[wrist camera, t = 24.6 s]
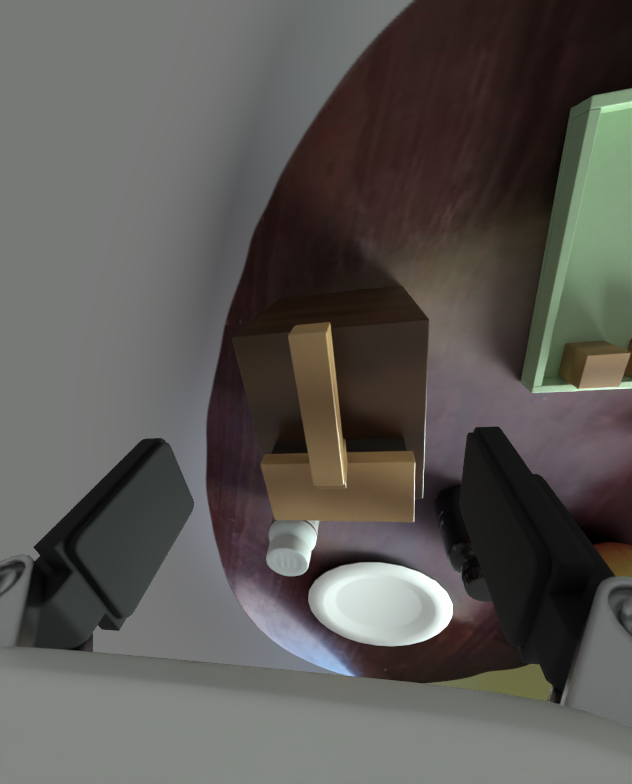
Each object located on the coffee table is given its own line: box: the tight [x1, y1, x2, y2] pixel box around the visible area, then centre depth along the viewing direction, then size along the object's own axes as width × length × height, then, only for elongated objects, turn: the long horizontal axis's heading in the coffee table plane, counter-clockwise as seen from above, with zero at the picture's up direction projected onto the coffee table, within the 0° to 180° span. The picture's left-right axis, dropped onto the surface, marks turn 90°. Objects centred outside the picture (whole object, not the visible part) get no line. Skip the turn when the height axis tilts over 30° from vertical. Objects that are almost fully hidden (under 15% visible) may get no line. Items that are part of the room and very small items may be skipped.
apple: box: [593, 542, 632, 578], centre depth 41 cm, size 10×10×8 cm
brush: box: [260, 322, 415, 522], centre depth 20 cm, size 16×11×6 cm
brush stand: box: [232, 285, 429, 499], centre depth 30 cm, size 15×13×14 cm
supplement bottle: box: [434, 486, 493, 602], centre depth 38 cm, size 7×7×12 cm
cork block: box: [558, 341, 631, 389], centre depth 30 cm, size 4×4×4 cm
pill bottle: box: [266, 517, 319, 576], centre depth 41 cm, size 6×6×11 cm
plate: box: [308, 561, 452, 646], centre depth 55 cm, size 25×25×2 cm
